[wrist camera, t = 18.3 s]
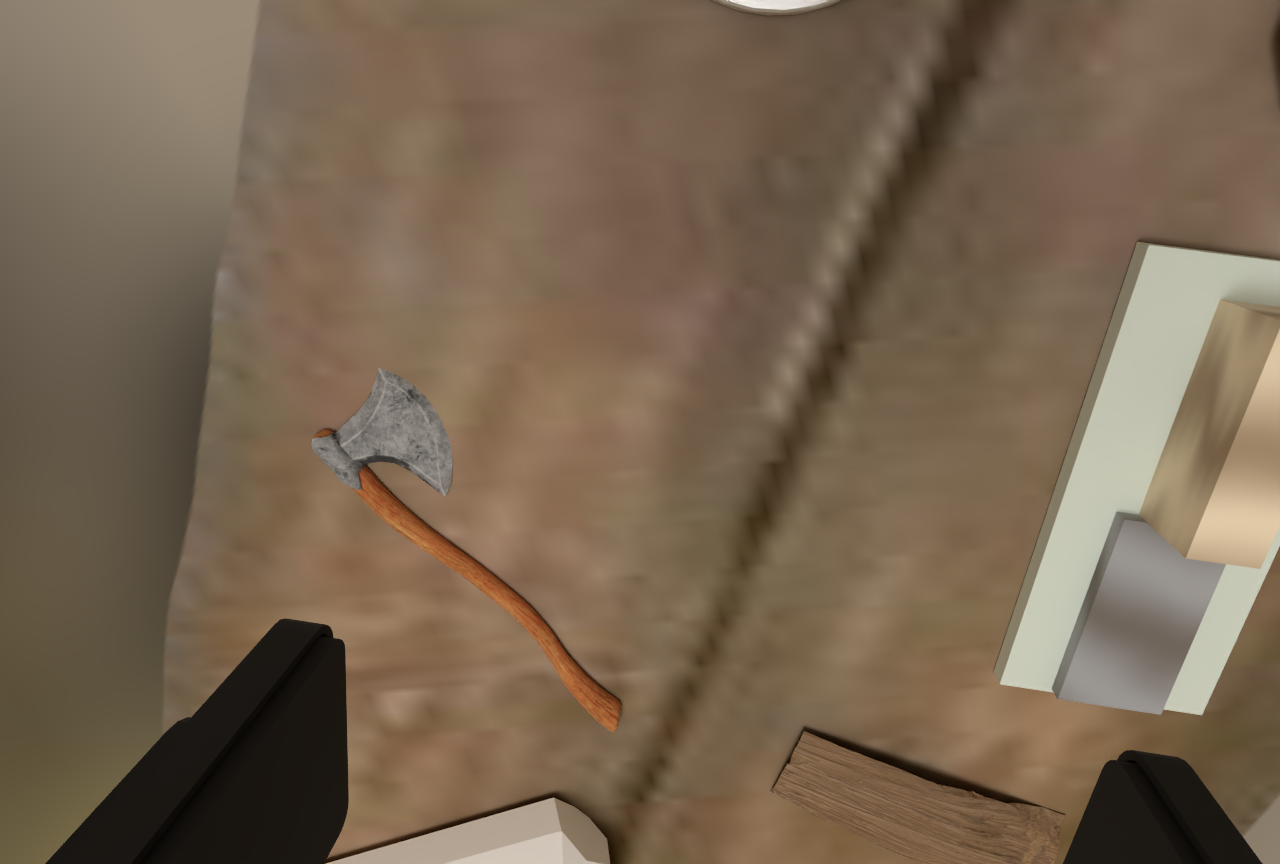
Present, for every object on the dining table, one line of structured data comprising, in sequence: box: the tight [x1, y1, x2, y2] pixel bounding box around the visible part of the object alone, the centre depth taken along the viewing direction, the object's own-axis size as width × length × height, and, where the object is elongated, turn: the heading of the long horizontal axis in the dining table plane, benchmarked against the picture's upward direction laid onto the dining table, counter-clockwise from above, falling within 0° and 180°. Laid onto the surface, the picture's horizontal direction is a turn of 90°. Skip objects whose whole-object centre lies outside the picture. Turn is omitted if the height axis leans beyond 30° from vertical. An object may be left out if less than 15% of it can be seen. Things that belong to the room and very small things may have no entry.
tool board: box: [994, 242, 1280, 715], centre depth 37 cm, size 22×10×1 cm, turn 173°
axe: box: [312, 368, 621, 732], centre depth 42 cm, size 22×6×2 cm, turn 42°
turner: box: [1052, 300, 1280, 715], centre depth 35 cm, size 20×5×4 cm, turn 174°
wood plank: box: [771, 731, 1066, 864], centre depth 45 cm, size 15×2×5 cm
